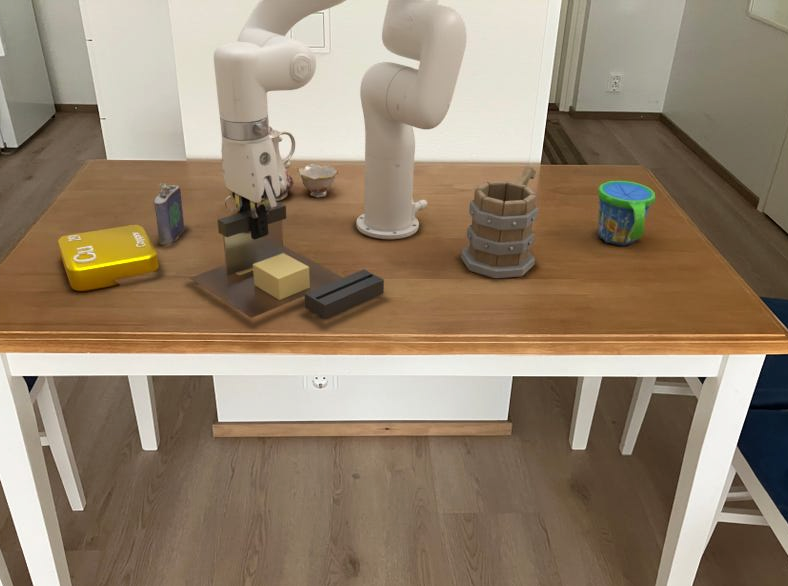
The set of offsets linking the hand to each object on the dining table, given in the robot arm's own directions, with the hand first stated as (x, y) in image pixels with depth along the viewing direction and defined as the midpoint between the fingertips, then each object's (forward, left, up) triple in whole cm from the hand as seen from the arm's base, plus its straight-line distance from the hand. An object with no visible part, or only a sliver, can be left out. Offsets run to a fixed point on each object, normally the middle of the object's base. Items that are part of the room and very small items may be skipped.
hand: (254, 232), depth 133 cm
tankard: (-41, +24, -9) cm, 48 cm away
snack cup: (-64, +34, -9) cm, 72 cm away
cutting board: (0, +4, -9) cm, 9 cm away
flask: (+2, -24, -9) cm, 26 cm away
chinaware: (-25, -26, -9) cm, 37 cm away
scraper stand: (-5, +18, -9) cm, 21 cm away
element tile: (+17, -20, -9) cm, 28 cm away
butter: (0, +8, -7) cm, 10 cm away
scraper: (0, 0, -6) cm, 6 cm away
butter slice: (0, -2, -7) cm, 7 cm away
